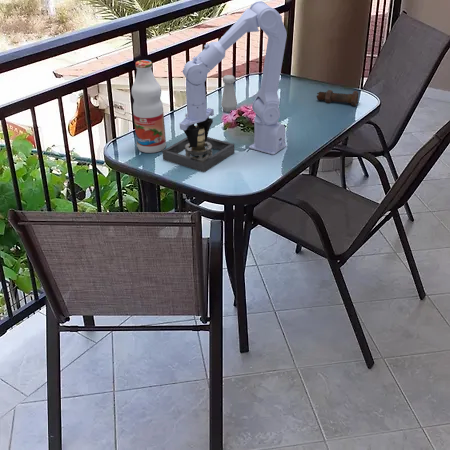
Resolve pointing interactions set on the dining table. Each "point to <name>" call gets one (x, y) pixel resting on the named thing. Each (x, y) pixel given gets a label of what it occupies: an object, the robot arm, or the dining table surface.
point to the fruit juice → (148, 110)
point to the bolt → (338, 97)
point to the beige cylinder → (200, 139)
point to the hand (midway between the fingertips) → (198, 143)
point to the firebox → (198, 154)
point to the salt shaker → (228, 94)
